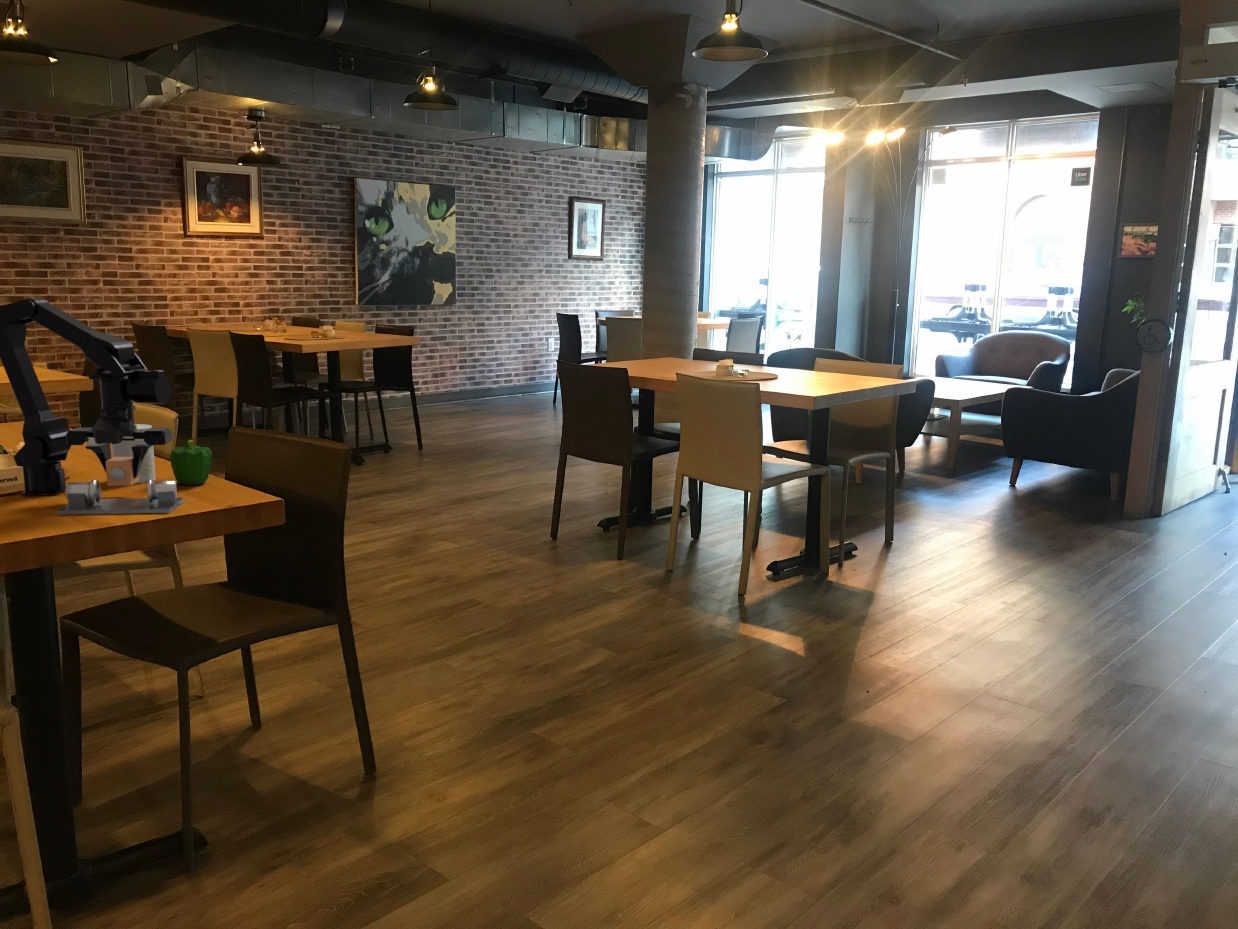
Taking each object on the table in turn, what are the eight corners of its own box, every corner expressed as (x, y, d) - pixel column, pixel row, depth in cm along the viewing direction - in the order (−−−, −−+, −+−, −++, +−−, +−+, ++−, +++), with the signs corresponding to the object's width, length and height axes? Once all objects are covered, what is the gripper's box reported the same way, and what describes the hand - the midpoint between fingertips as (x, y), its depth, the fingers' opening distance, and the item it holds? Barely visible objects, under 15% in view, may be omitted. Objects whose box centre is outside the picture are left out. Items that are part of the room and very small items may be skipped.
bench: (57, 514, 184) (55, 485, 183) (77, 502, 193) (75, 474, 192) (169, 513, 187) (167, 484, 186) (183, 501, 197) (182, 474, 196)
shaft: (148, 506, 189) (146, 481, 188) (150, 501, 193) (148, 477, 192) (176, 504, 191) (174, 480, 190) (177, 499, 195) (176, 475, 194)
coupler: (129, 486, 196) (127, 462, 195) (105, 486, 195) (103, 462, 194) (140, 479, 203) (138, 455, 202) (117, 479, 202) (115, 456, 201)
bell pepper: (179, 479, 217) (176, 435, 215) (217, 479, 218) (214, 435, 216) (165, 487, 209) (162, 441, 207) (205, 487, 210) (202, 442, 208)
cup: (139, 485, 211) (135, 430, 208) (106, 482, 212) (102, 428, 210) (163, 477, 219) (159, 425, 216) (131, 475, 220) (127, 423, 218)
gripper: (51, 407, 186) (58, 486, 189) (154, 407, 189) (159, 485, 192) (73, 400, 197) (79, 475, 200) (170, 400, 200) (175, 474, 203)
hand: (122, 477), depth 199 cm, fingers closed on coupler, 4 cm apart
